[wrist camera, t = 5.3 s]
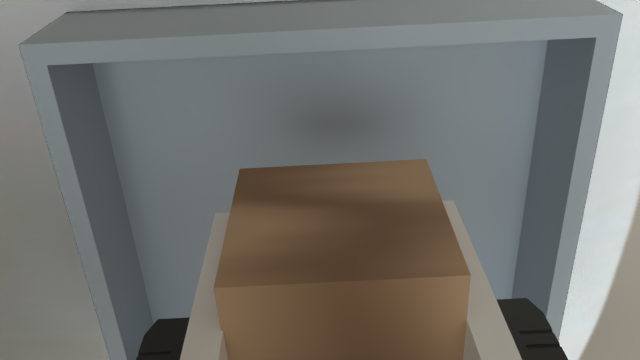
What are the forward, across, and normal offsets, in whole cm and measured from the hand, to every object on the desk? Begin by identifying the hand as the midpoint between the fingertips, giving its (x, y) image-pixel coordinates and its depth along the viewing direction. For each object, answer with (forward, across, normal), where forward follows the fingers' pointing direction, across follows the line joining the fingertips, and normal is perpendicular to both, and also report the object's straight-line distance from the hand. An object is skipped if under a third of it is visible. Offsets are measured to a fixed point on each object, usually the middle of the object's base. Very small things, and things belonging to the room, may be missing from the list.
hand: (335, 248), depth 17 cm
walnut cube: (0, 0, 0) cm, 0 cm away
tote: (+12, 0, -6) cm, 14 cm away
